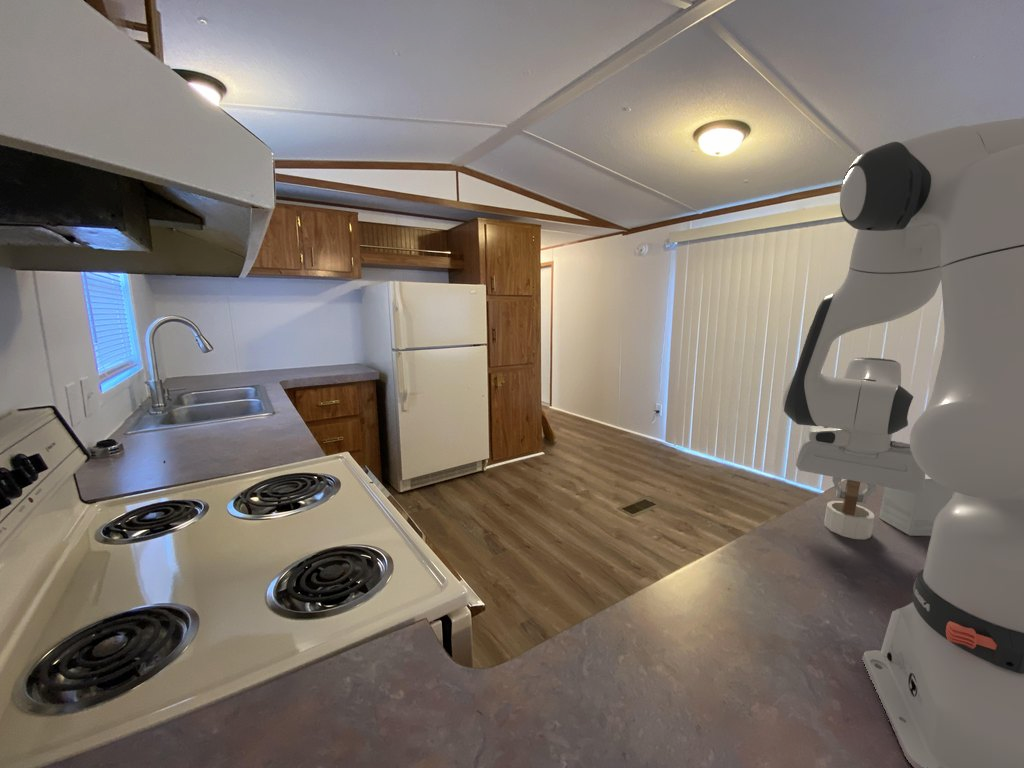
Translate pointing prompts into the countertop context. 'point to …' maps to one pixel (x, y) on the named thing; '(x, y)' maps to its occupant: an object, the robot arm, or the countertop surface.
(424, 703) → the countertop surface
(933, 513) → the supplement box
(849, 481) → the brown rectangular block
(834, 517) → the faceted white cup
